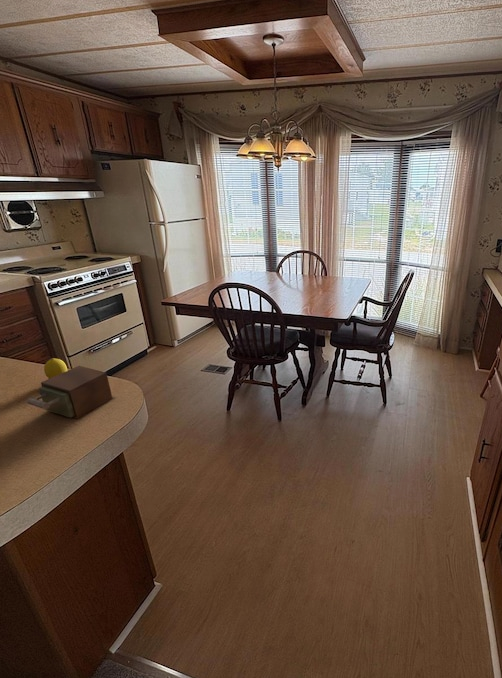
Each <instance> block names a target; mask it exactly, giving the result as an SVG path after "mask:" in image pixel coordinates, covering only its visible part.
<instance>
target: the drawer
mask: <svg viewBox="0 0 502 678" xmlns="http://www.w3.org/2000/svg"><path fill="white" fill-rule="evenodd" d="M38 391H39V394H40V395H39V396H36V397H35V398H34V397H29V398H28V399H26V404H28V405H30V406H34V407H37V408H40V409H42V410H46V411H48V412H52V413H53V414H54V413H55V414H58V415H61V416H64V417H67V418H74V417H73V416H74V415H75V414H74V411H73V407H72V404H71V400H70V397H69V394H68V393H67V392H64V391H61V390H57V389H54V388H48V387H45V386H42V385H41V386H40V387H38Z"/></svg>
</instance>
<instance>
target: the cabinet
mask: <svg viewBox="0 0 502 678" xmlns="http://www.w3.org/2000/svg"><path fill="white" fill-rule="evenodd" d="M40 385H41V387H42V386H45V387H48V388H54V389H57V390H61V391H64V392H67V393H68V394H69V397H70V400H71V404H72V407H73V411H74V414H75V415H74V416H73V417H72V418H75V419H79V418H81V417H83V416H84V415H86V414H88V413H90V412H91V411H93V410H95V409H97V408H98V407H101V406H102V405H104V404H105V403H107V402H109V401H111V400H113V395H112V390H111V387H110V386H111V385H110V382H109V377H108V373H107V372H106V371H101V370H98V369H94V368H90V367H86V366H83V365H78V366H75V367H73V368H71V369H67V371H66V372H64V373H61V374H59V375H57V376H55V377H52V378H50V379H49V378H48V379H45V380H43V381H41V382H40Z"/></svg>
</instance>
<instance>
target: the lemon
mask: <svg viewBox="0 0 502 678" xmlns="http://www.w3.org/2000/svg"><path fill="white" fill-rule="evenodd" d="M43 371H44V374H45V376H46V378H48V379H50V378H52V377H55V376H57V375H59V374H61V373H64V372H66V371H68V367H67V365H66V363H65V362H64V361H63V360H61V359H60V358H54V357H52V358H50V359H49V360H48V361H46V362H45V364H44V367H43Z"/></svg>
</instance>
